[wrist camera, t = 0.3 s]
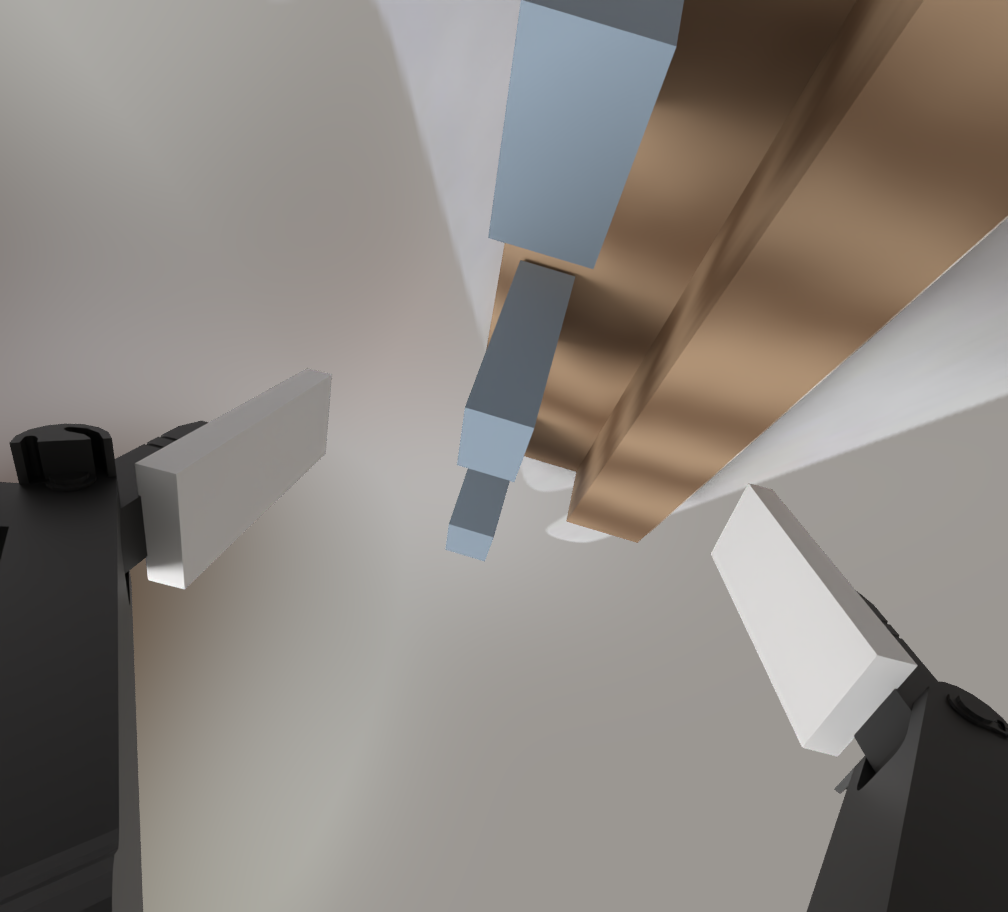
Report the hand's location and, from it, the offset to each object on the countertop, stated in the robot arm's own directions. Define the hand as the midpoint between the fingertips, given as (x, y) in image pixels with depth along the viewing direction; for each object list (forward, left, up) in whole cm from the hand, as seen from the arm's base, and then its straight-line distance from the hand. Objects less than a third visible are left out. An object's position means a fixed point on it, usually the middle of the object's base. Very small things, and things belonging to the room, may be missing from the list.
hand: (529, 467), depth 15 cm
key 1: (+19, -2, -14) cm, 24 cm away
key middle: (+6, -2, -14) cm, 15 cm away
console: (+6, +4, -15) cm, 17 cm away
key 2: (-7, -2, -14) cm, 16 cm away
